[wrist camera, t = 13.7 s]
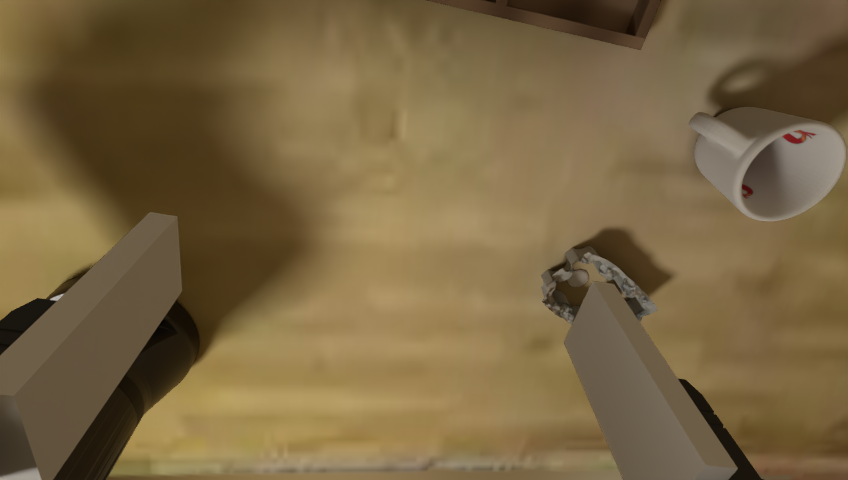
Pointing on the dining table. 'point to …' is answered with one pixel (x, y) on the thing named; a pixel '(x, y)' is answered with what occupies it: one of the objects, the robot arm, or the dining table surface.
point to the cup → (768, 160)
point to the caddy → (575, 16)
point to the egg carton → (578, 278)
